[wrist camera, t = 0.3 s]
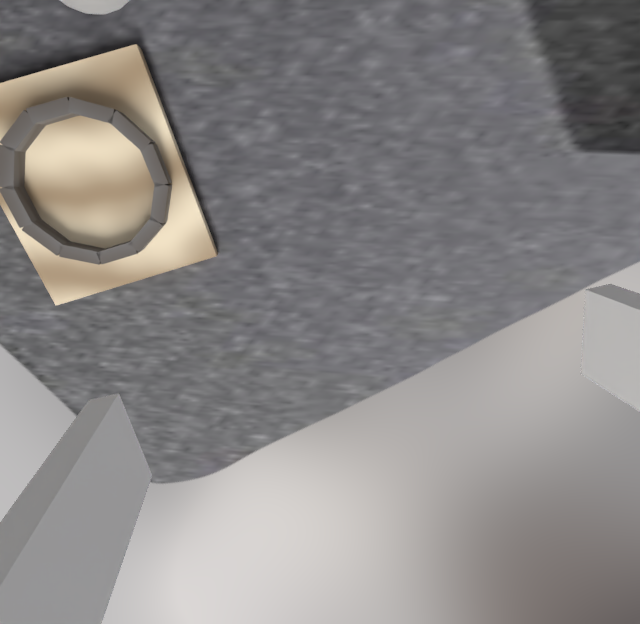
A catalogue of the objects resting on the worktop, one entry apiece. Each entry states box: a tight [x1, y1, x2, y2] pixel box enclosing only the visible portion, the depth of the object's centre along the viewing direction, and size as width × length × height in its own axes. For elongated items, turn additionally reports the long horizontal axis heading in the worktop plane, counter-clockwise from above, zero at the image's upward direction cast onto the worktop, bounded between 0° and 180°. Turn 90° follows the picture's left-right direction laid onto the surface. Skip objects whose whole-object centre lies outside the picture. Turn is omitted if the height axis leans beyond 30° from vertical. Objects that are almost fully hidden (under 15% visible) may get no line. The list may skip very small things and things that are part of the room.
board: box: [0, 44, 218, 305], centre depth 32 cm, size 16×14×3 cm
